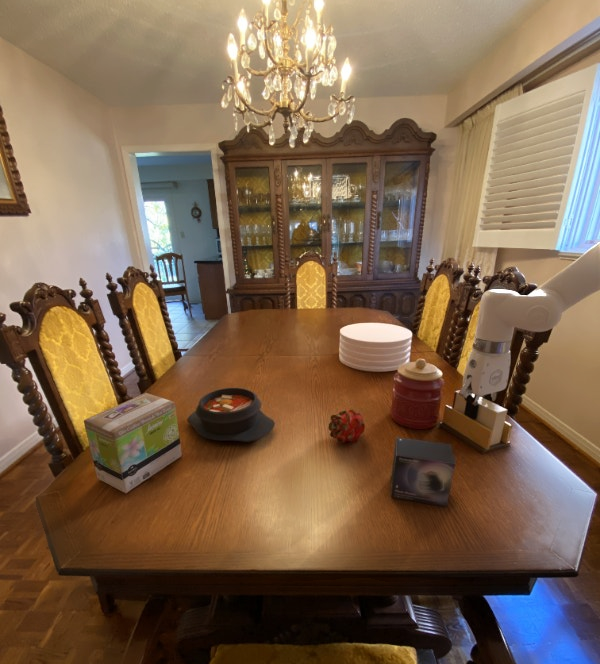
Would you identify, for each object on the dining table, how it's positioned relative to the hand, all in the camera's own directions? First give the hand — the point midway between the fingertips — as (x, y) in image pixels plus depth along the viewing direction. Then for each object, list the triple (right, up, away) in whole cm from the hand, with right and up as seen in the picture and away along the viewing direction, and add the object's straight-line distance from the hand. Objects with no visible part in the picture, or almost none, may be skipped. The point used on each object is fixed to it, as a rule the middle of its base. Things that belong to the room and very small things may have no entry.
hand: (477, 414), depth 86 cm
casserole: (-63, -5, +7) cm, 63 cm away
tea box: (-80, -11, -8) cm, 81 cm away
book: (0, -5, +2) cm, 5 cm away
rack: (0, -6, +2) cm, 6 cm away
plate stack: (-14, +15, +55) cm, 59 cm away
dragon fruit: (-32, -6, +2) cm, 33 cm away
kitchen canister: (-12, -3, +11) cm, 17 cm away
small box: (-21, -14, -17) cm, 30 cm away
